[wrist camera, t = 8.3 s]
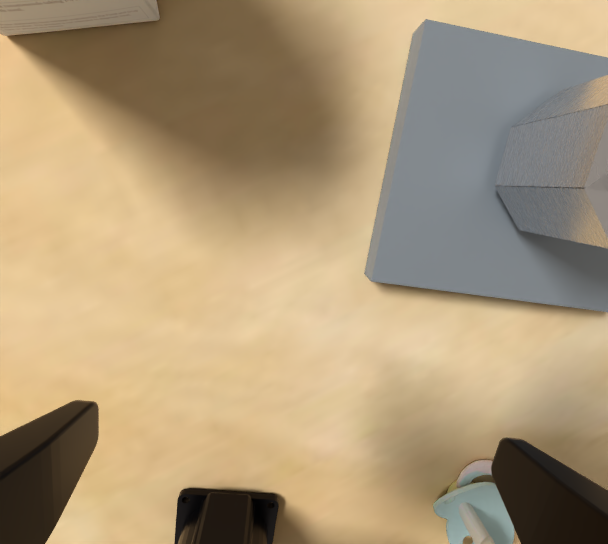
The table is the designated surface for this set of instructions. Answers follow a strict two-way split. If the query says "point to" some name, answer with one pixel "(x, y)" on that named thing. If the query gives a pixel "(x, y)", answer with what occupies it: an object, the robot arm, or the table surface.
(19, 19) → the supplement box
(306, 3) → the table surface
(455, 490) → the pacifier
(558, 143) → the hub
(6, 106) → the table surface
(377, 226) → the block
